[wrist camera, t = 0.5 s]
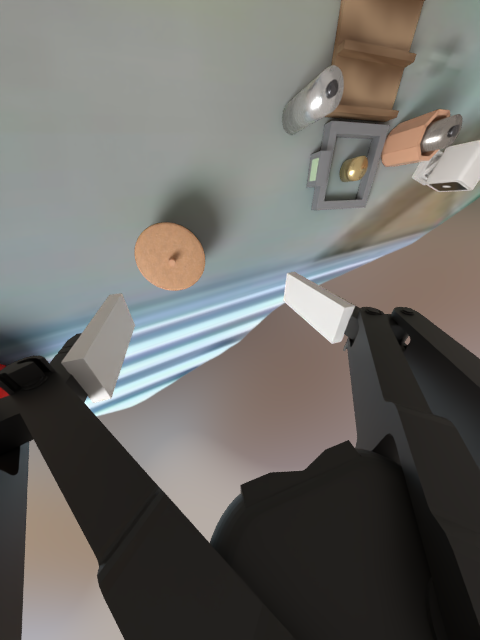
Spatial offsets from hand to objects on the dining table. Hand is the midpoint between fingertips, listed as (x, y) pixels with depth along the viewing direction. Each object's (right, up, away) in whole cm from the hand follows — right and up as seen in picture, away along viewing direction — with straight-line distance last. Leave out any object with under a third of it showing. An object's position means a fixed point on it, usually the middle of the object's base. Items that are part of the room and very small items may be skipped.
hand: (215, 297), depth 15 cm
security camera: (+46, +33, +28) cm, 63 cm away
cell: (+11, +32, +15) cm, 37 cm away
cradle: (+23, +29, +22) cm, 43 cm away
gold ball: (+24, +29, +22) cm, 44 cm away
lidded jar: (-11, +12, +21) cm, 26 cm away
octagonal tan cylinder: (+34, +34, +23) cm, 54 cm away
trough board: (+23, +41, +14) cm, 49 cm away
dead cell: (+35, +34, +22) cm, 54 cm away
